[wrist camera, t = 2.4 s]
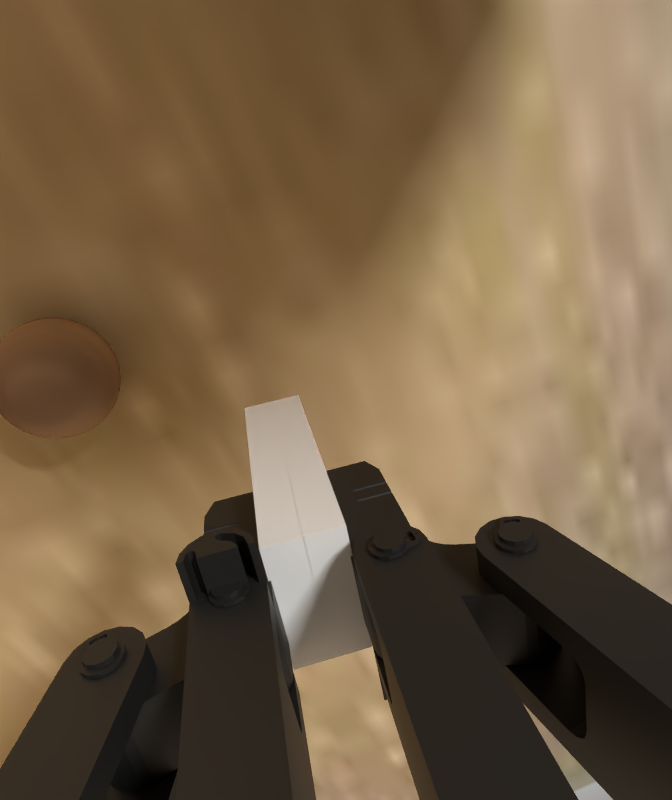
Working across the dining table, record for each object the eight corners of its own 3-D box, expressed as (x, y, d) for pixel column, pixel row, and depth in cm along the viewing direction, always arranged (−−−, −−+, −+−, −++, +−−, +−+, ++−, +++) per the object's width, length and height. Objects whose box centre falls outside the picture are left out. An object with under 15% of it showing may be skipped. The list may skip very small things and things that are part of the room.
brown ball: (-7, 321, 28) (-59, 352, 23) (107, 296, 28) (82, 320, 23) (36, 422, 30) (-1, 472, 25) (142, 397, 30) (126, 440, 25)
